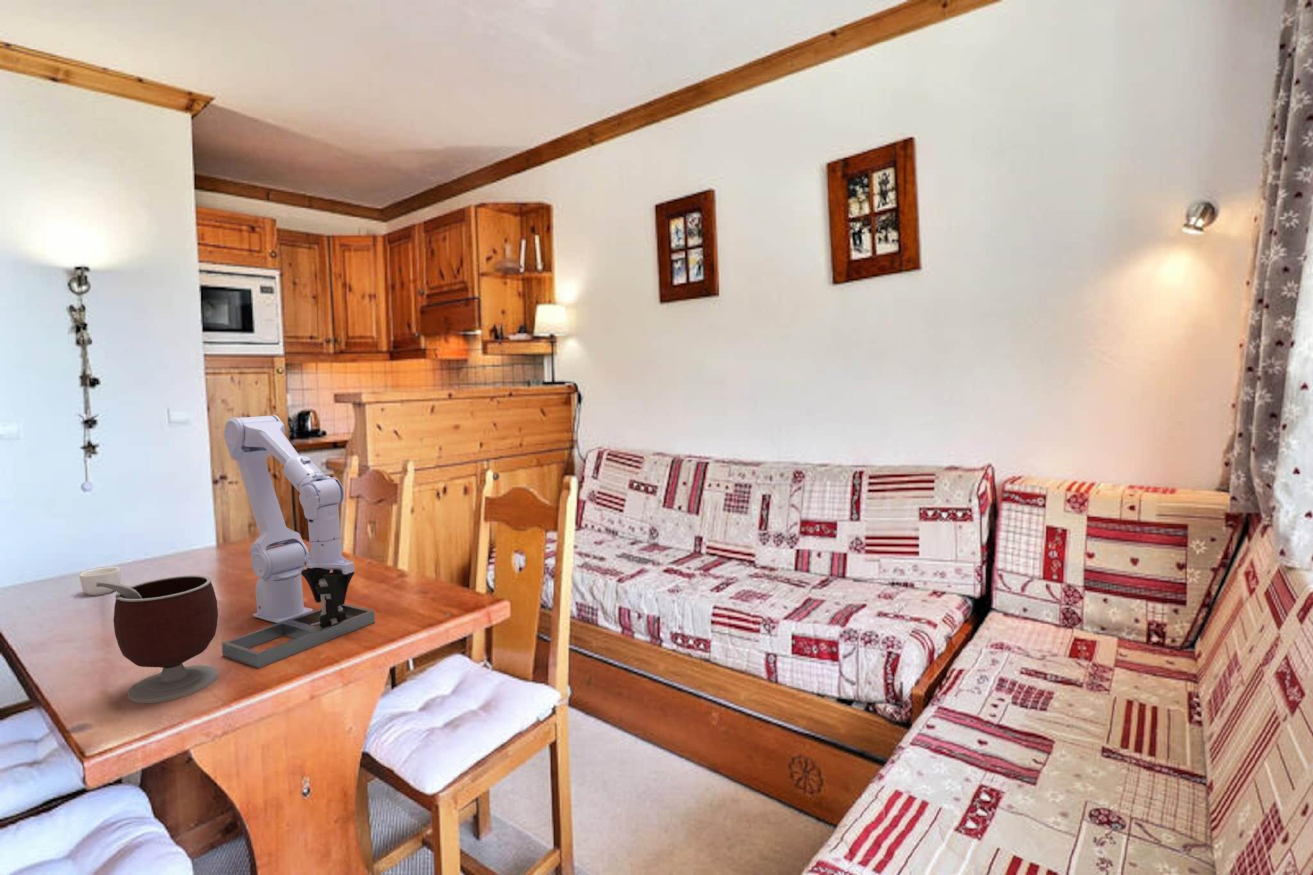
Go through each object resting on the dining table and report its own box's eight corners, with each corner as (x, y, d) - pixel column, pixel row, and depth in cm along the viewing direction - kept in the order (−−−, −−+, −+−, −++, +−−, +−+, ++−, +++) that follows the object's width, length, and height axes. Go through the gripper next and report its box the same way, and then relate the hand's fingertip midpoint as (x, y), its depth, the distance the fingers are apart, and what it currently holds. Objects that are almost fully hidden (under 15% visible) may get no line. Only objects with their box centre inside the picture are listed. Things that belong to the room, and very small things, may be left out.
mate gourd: (215, 659, 120) (205, 553, 118) (231, 684, 110) (220, 569, 108) (105, 688, 110) (93, 573, 108) (112, 719, 100) (98, 592, 98)
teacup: (124, 592, 161) (121, 570, 160) (82, 600, 156) (80, 578, 155) (119, 583, 168) (117, 563, 167) (79, 591, 163) (77, 570, 162)
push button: (315, 635, 130) (310, 586, 129) (308, 628, 134) (304, 580, 133) (350, 625, 134) (346, 578, 133) (343, 619, 138) (339, 573, 137)
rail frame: (222, 655, 122) (221, 642, 121) (339, 613, 142) (339, 602, 142) (258, 668, 116) (257, 654, 116) (374, 622, 137) (373, 610, 137)
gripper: (284, 539, 133) (290, 603, 134) (329, 546, 126) (334, 615, 127) (317, 531, 139) (322, 593, 140) (361, 538, 132) (365, 603, 133)
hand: (330, 603), depth 134 cm, fingers closed on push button, 5 cm apart
